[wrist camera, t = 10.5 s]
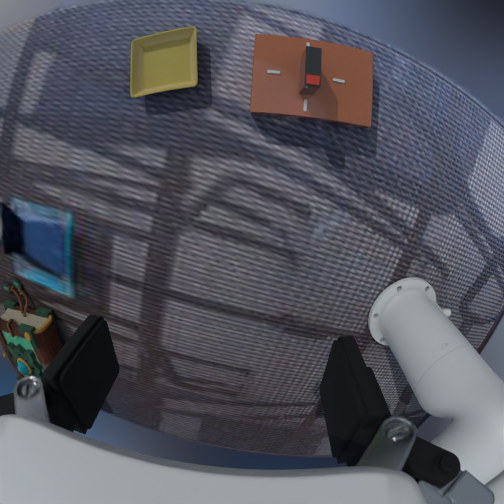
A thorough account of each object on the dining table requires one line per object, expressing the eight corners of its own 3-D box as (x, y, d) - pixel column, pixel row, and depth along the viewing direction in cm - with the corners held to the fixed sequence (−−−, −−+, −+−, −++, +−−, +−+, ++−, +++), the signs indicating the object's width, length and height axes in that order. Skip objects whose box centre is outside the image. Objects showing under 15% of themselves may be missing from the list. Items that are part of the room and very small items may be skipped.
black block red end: (300, 57, 25) (306, 44, 21) (314, 59, 25) (322, 47, 21) (298, 93, 27) (304, 85, 23) (312, 94, 27) (320, 87, 23)
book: (-9, 272, 40) (-38, 293, 31) (50, 281, 40) (17, 309, 30) (28, 366, 49) (9, 390, 40) (89, 387, 49) (71, 418, 40)
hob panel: (364, 58, 27) (373, 51, 24) (362, 128, 31) (371, 127, 28) (255, 42, 27) (255, 33, 24) (250, 115, 31) (249, 111, 28)
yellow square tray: (136, 100, 30) (129, 98, 28) (137, 44, 27) (131, 39, 25) (201, 89, 30) (197, 86, 28) (200, 31, 27) (196, 25, 25)
